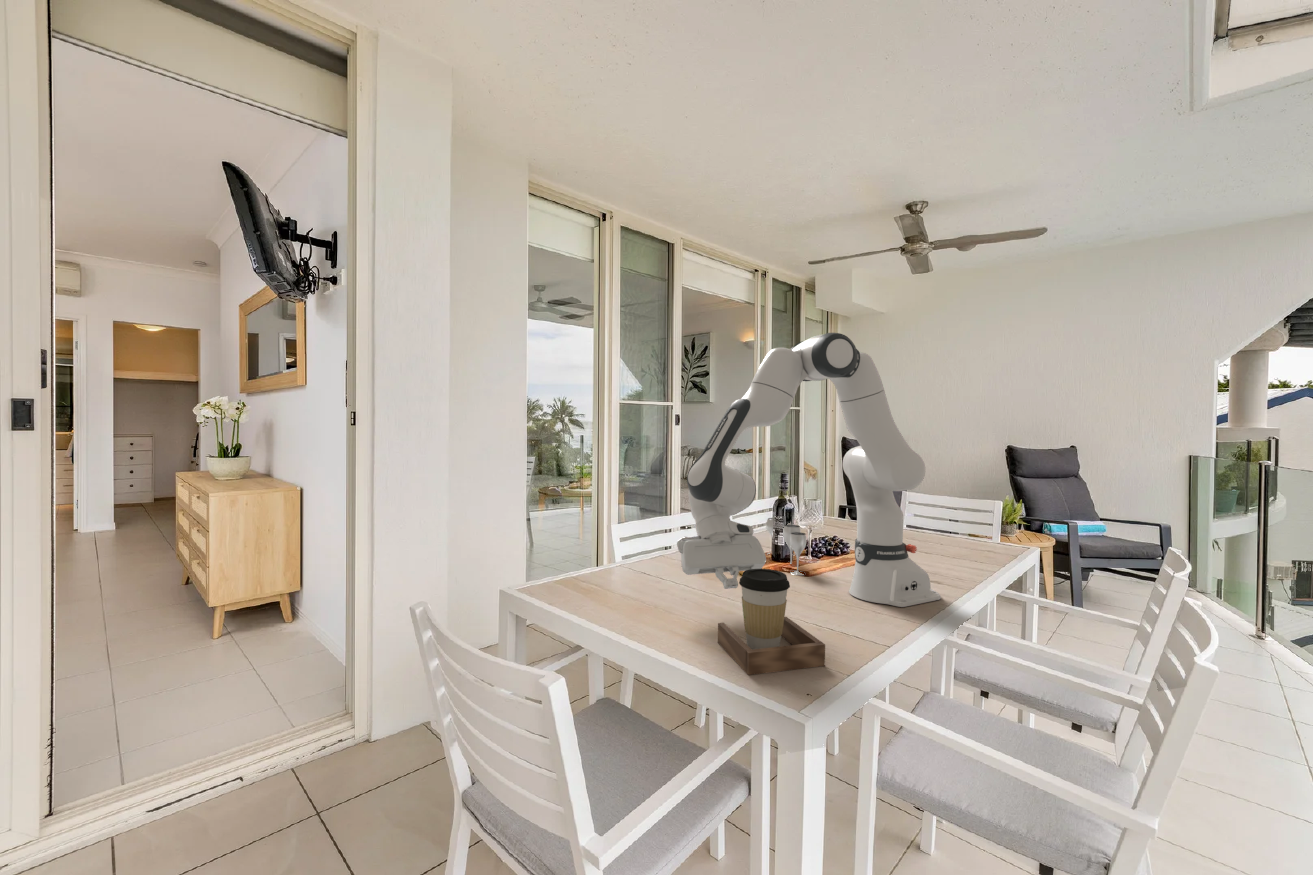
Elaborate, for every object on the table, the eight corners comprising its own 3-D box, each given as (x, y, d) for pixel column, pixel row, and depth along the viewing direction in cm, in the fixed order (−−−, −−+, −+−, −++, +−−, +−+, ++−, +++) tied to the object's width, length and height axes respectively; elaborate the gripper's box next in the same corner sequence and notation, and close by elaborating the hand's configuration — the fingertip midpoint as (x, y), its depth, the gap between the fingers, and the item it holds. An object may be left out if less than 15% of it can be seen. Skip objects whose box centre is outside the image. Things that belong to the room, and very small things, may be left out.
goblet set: (809, 575, 161) (810, 530, 160) (790, 576, 160) (791, 530, 160) (779, 552, 189) (780, 513, 188) (763, 552, 188) (764, 513, 188)
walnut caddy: (785, 635, 116) (786, 616, 116) (824, 665, 102) (825, 644, 102) (717, 642, 112) (718, 622, 112) (748, 675, 98) (748, 652, 98)
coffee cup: (775, 637, 115) (776, 566, 114) (797, 657, 105) (799, 580, 105) (730, 641, 113) (731, 569, 112) (749, 662, 103) (751, 583, 102)
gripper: (678, 530, 129) (691, 583, 120) (758, 526, 134) (776, 577, 125) (672, 544, 133) (684, 597, 124) (750, 540, 139) (767, 590, 130)
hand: (731, 587), depth 125 cm, fingers closed
